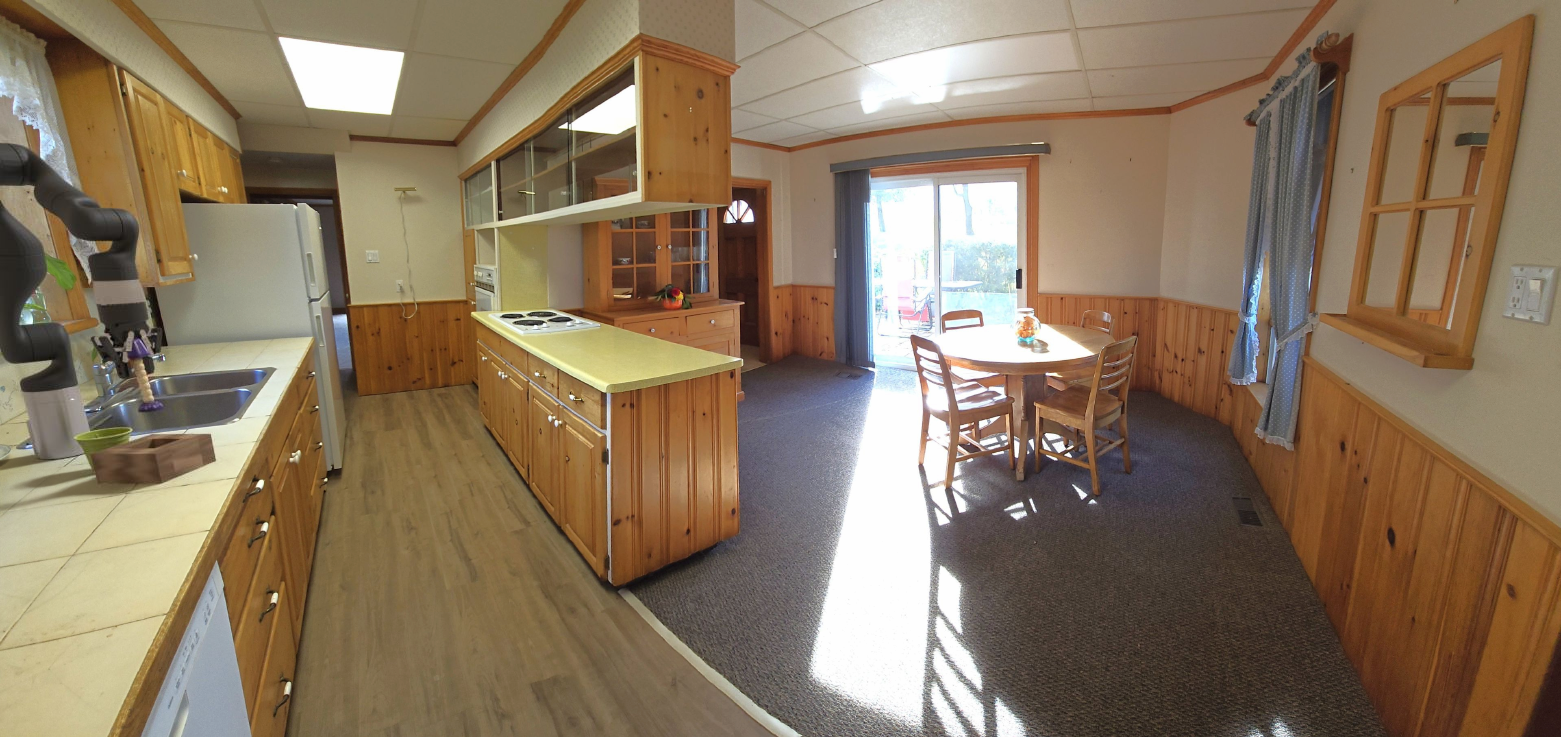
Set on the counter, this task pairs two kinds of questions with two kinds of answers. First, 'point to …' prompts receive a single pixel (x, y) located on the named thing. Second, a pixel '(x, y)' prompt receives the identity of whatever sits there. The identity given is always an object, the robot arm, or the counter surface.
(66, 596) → the counter surface
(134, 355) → the toy lamp
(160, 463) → the socket block
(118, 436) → the plant pot
